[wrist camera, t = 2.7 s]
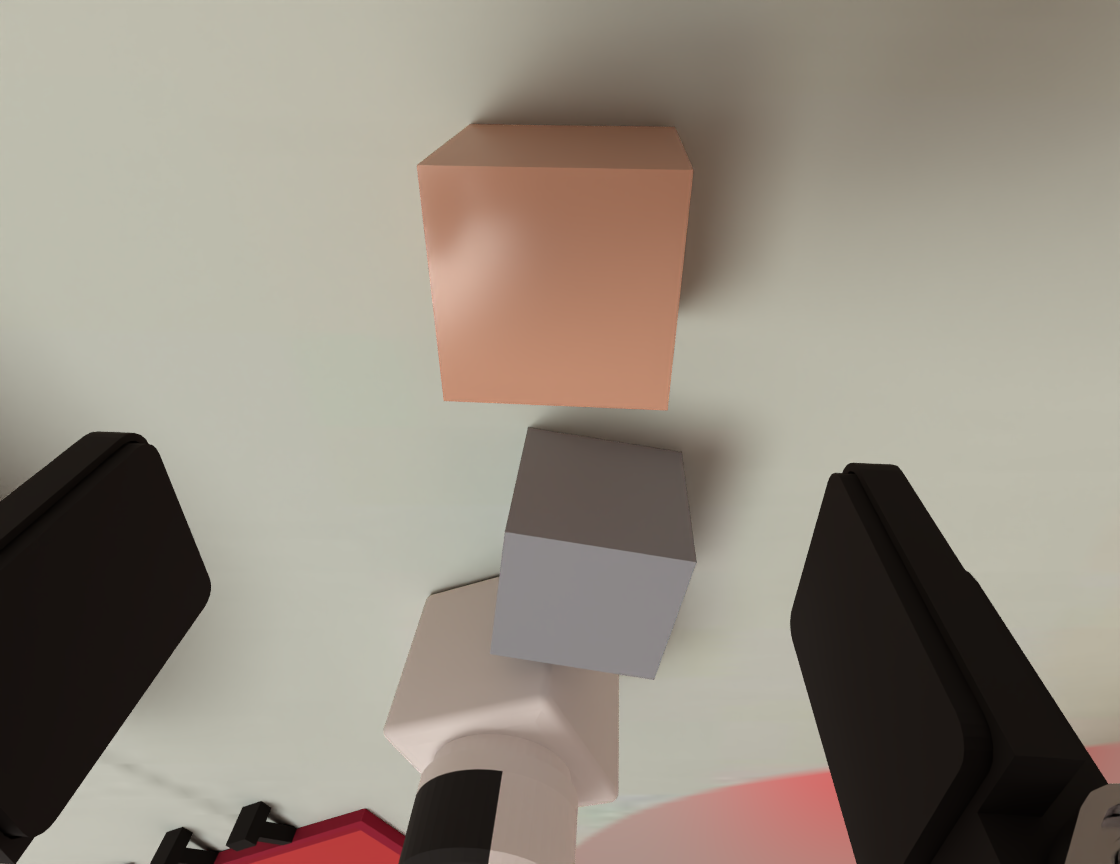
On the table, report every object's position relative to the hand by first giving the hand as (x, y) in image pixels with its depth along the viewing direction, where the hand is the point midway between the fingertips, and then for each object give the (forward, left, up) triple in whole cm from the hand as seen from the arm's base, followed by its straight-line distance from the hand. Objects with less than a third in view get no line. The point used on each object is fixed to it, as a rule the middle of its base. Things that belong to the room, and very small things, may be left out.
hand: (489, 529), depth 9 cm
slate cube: (-1, +11, -14) cm, 17 cm away
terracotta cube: (0, 0, -14) cm, 14 cm away
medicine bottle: (+2, +19, -14) cm, 23 cm away
